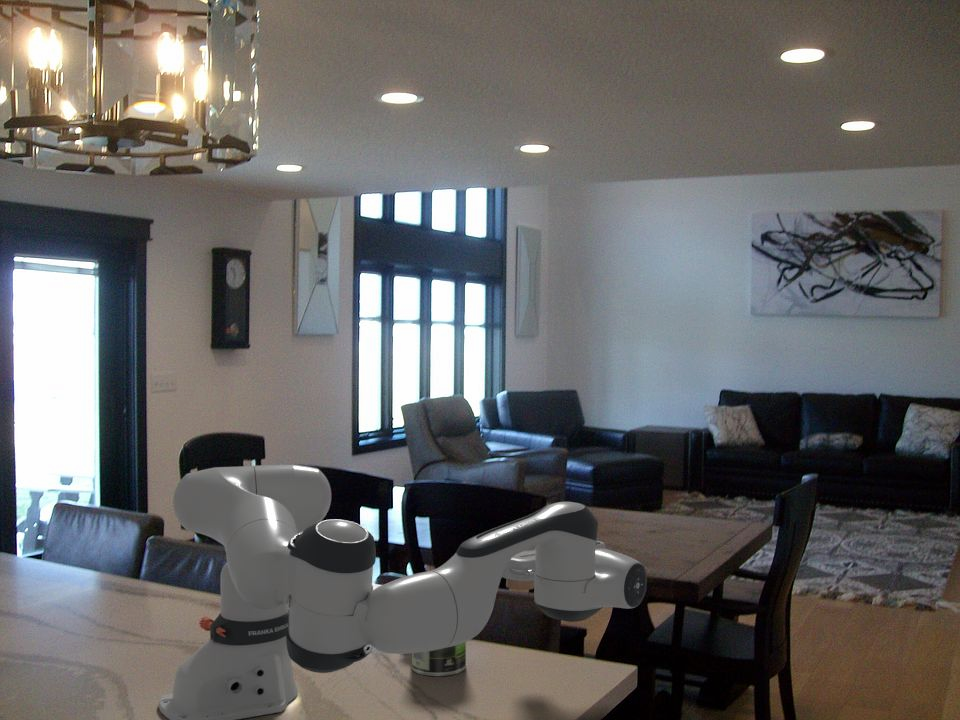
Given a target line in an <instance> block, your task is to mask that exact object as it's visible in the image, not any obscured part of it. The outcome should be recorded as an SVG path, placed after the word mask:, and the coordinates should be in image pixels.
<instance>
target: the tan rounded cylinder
mask: <svg viewBox="0 0 960 720" xmlns="http://www.w3.org/2000/svg"><path fill="white" fill-rule="evenodd" d="M533 548H535V547H533ZM505 579H506V578H505ZM505 581H506V582H505V586H506V588H508V589H510V590H515V591H527V590H533V589H534V580H530V581H516V580H511V579H506V580H505Z"/></svg>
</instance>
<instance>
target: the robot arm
mask: <svg viewBox="0 0 960 720" xmlns="http://www.w3.org/2000/svg"><path fill="white" fill-rule="evenodd" d="M172 502H173V503H172V506H173V510H174V515H175V517H176V519H177V521H178V523H179V524H180V525H181V526H182V527H183V528H184V529H185V530H186V531H188V532H192V533H197V534H200V535H203V536H206V537H209V538H211V539H212V540H215V541H216V542H217V543H219V544H221V545H222V546H223V547H224V550H225V554H226V556H225V557H226V562H225V564H224V565H223V567H222V569H221V572H220V612H219V614H218V615H217V617H216V618H215V619H213V618H210V617H208V616H202V617H200V620H199V622H198V624H199V627H200V628H201V629H202V630H204V631H206V632H209V635H210V636H209V637H210V638H209V639H208V640H207V641H205V642H204V644H202V645H201V646H200V647H199V648H198V649H197V650H196V651H194V652H193V653H192V654H191V655H190V656H189V657H188V658H187V659H185V661H183V662H182V663H181V664H180V665H179V666H178V668H177V670H176V672H175V678H174V681H173V687H172V688H173V689H172V690H173V691H172V692H170V693H167V694H165V695H162V696H161V697H160V699H159V701H158V702H159V703H158V709H159V711H160V713H161V714H162V715H163V716H164V717H165V718H167V720H241V719H247V718H253V717H258V716H259V717H260V716H264V715H272V714H275V713H276V714H277V713H281V712H283V711H285V709H286V708H287V705H288V703H290V702H291V701H292V700H294V699H295V698H296V697H297V696H298V693H299V689H298V686H297V683H296V679H295V675H294V672H293V664H292V662H294V663H295V664H297V666H299V667H300V668H302V669H305V670H306V671H309V672H313V673H317V674H318V673H320V674H327V673H333V672H337V671H340V670H343V669H345V668H347V667H350V666H351V665H353V664H354V663H356V662H360V661H362V660H363V659H365V658H366V657H368V656H369V654H370V653H371V651H372V650H373V648H375V649H376V650H378V651H379V652H382V653H384V654H390V655H393V654H394V655H395V654H399V655H403V654H407V655H408V654H411V653H421V652H428V651H434V650H439V649H443V648H448V647H452V646H456V645H459V644H462V643H464V642H468V641H470V640H472V639H473V638H475V637H477V636H478V635H479V634H480V633H482V631H483V629H484V628H485V627H486V625H487V623H488V622H489V620H490V618H491V615H492V612H493V610H494V607H495V606H494V605H495V601H496V596H497V594H498V590H499V587H500V583H501V580H502V578H503V579H511V580H516V581H530V580H534V588H533V589H534V591H533V592H534V593H533V594H534V595H533V597H534V604H535V606H536V607H537V608H538V609H539V610H540V611H541V612H542V613H543V614H545V615H546V616H547V617H549V618H552V619H554V620H559V621H563V622H569V623H574V622H575V623H577V622H582V621H585V620H588V619H590V618H591V617H593V616H594V615H596V614H597V613H598V612H600V611H601V610H602V609H603V608H609V607H610V608H618V609H620V608H621V609H630V610H631V609H634V608H636V607H638V606H639V605H641V603H642V602H643V600H644V598H645V595H646V592H647V586H648V585H647V584H648V583H647V581H648V579H647V571H646V569H645V566H644V565H643V564H642V563H641V561H639V560H637V559H635V558H634V557H631V556H628V555H626V554H624V553H621V552H618V551H615V550H611V549H608V548H606V543H605V542H604V541H599V540H597V539H598V531H599V530H598V529H599V521H598V520H597V519H596V516H595V515H594V513H593V512H592V511H591V510H590V509H589V508H588V507H587V506H586V505H585V504H583V503H579V502H573V501H559V502H554V503H551V504H548V505H544V506H543V507H542V508H540V509H538V510H536V511H534V512H533V513H530V514H528V515H526V516H523V517H521V518H518V519H516V520H513V521H510V522H506V523H505V524H502V525H499V526H497V527H494V528H491V529H489V530H486V531H484V532H481V533H478V534H477V535H474V536H472V537H470V538H468V539H466V540H465V541H463V542H462V543H460V545H459V546H458V548H457V549H456V552H455V553H454V555H452V556H451V557H450V558H449V559H448V560H447V561H446V562H444V563H443V564H442V565H440V566H439V567H437V568H434V569H432V570H428V571H423V572H417V573H413V574H410V575H406V576H403V577H399V578H397V579H394V580H392V581H390V582H387V583H386V582H385V584H379V583H378V584H377V583H373V573H374V565H375V564H376V556H377V554H376V553H377V552H376V543H375V537H374V536H373V535H372V533H370V532H369V530H368V529H366V528H365V527H364V526H363V525H361V524H359V523H357V522H354V521H350V520H346V519H340V518H339V519H336V518H335V519H334V518H333V519H331V518H330V519H326V520H324V518H325V517H326V516H327V513H328V512H329V510H330V506H331V502H332V488H331V485H330V482H329V480H328V478H327V476H326V475H325V474H324V473H323V472H322V471H321V469H319V467H318V468H317V467H313V466H307V465H302V464H301V465H300V464H291V463H290V464H286V463H285V464H269V465H268V464H264V465H262V464H261V465H246V466H244V465H242V466H241V465H240V466H218V467H217V466H214V467H211V468H210V467H209V468H205V469H201V470H197V471H193V472H189V473H186V474H185V475H184V476H183V477H182V478H181V479H180V481H179V482H178V483H177V486H176V488H175V491H174V493H173V499H172ZM533 547H535V548H533ZM288 604H289V605H288ZM288 606H289V608H288Z"/></svg>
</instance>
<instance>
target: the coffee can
mask: <svg viewBox="0 0 960 720" xmlns="http://www.w3.org/2000/svg"><path fill="white" fill-rule="evenodd" d="M466 645H467V644H466V642H464V643H462V644H459V645H456V646H452V647H448V648H443V649H439V650H434V651H428V652H421V653H410V654H411V655H410V656H411V657H410V660H411V661H410V669H411V671H412V672H415V673H416V674H418V675H422V676H427V677H445V676H446V677H447V676H453V675H457V674H460V673H462V672H464V670H466V669H467V661H466V660H467V649H466V647H467V646H466Z"/></svg>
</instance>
